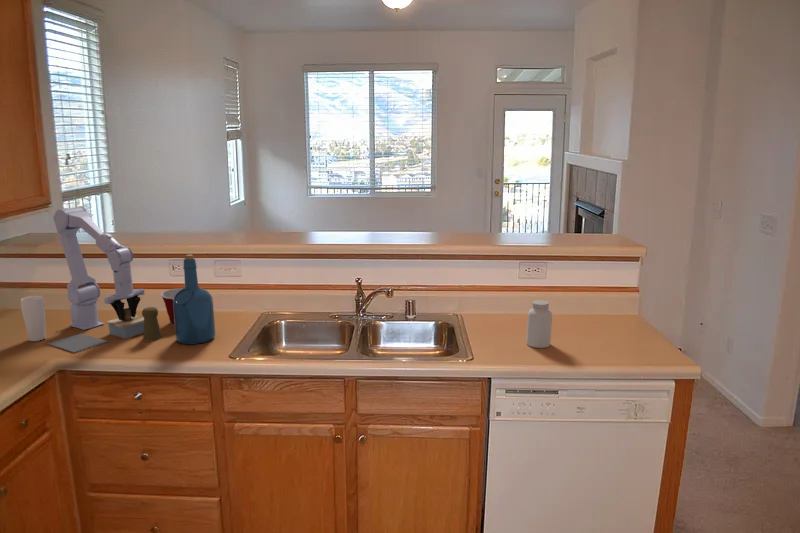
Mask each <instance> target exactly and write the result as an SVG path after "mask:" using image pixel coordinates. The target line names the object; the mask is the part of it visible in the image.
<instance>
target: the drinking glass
mask: <svg viewBox="0 0 800 533" xmlns="http://www.w3.org/2000/svg"><path fill="white" fill-rule="evenodd" d="M44 301H45V300H44V297H43V295H30V296H29V295H28V296H24V297H21V299H20V308H21V313H22V316H23V320H24V321H23V322H24V324H25V329H26V333H27V337H28V338H27V339H28V341H30V342H41V341H44V340H46V338H47V333H46V313H45V311H46V310H45V302H44ZM43 339H44V340H43ZM40 340H41V341H40Z"/></svg>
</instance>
